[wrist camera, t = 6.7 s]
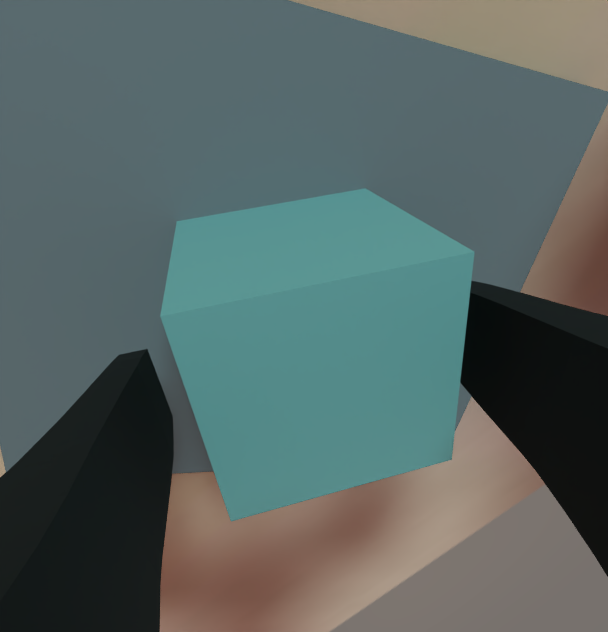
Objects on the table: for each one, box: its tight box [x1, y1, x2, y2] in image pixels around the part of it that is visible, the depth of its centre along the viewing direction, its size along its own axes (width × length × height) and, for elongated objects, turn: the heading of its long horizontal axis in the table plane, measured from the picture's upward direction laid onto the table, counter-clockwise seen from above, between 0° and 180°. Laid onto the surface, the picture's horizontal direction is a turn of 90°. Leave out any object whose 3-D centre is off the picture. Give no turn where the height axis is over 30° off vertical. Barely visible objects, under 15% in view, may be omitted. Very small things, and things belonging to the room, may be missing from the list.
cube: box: [160, 188, 474, 521], centre depth 10 cm, size 5×5×5 cm
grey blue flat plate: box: [0, 0, 608, 474], centre depth 12 cm, size 16×14×1 cm
